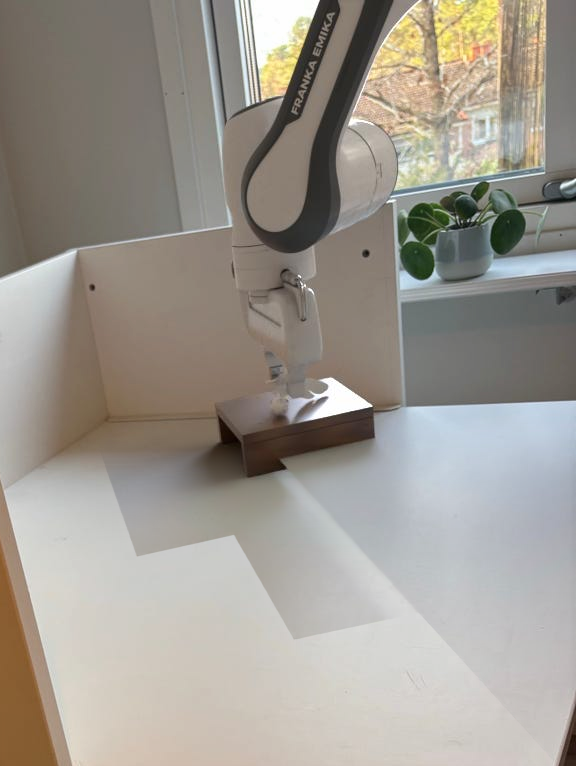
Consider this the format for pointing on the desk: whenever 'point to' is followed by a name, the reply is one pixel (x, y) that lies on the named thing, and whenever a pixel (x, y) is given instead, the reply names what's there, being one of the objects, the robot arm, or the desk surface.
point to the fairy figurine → (281, 403)
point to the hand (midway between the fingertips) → (287, 388)
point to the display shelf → (293, 425)
